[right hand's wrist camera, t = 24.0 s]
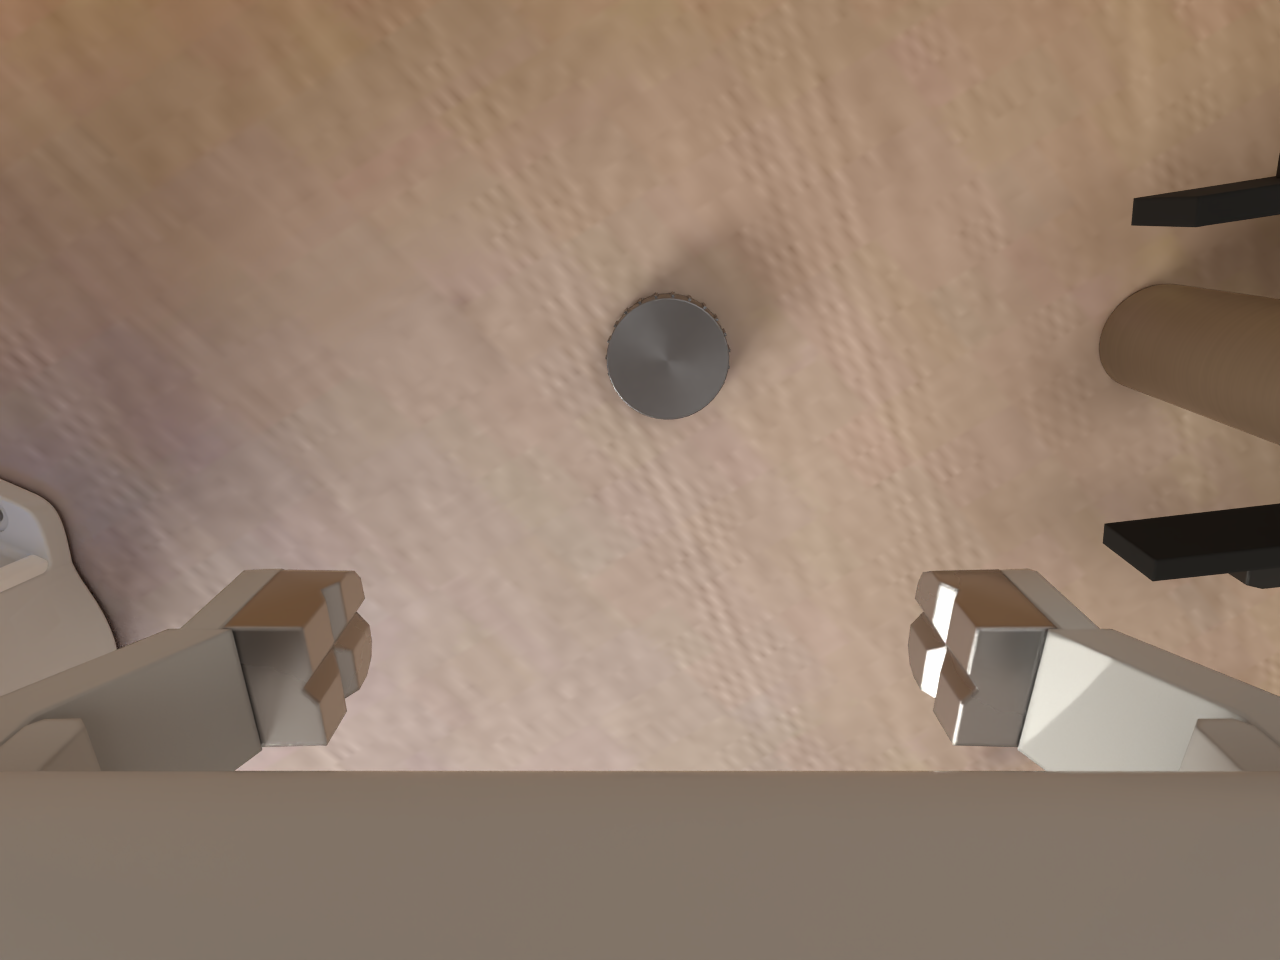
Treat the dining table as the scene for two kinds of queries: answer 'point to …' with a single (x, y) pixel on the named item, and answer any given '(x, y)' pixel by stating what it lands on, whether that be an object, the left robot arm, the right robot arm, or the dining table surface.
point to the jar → (1200, 353)
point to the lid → (668, 356)
